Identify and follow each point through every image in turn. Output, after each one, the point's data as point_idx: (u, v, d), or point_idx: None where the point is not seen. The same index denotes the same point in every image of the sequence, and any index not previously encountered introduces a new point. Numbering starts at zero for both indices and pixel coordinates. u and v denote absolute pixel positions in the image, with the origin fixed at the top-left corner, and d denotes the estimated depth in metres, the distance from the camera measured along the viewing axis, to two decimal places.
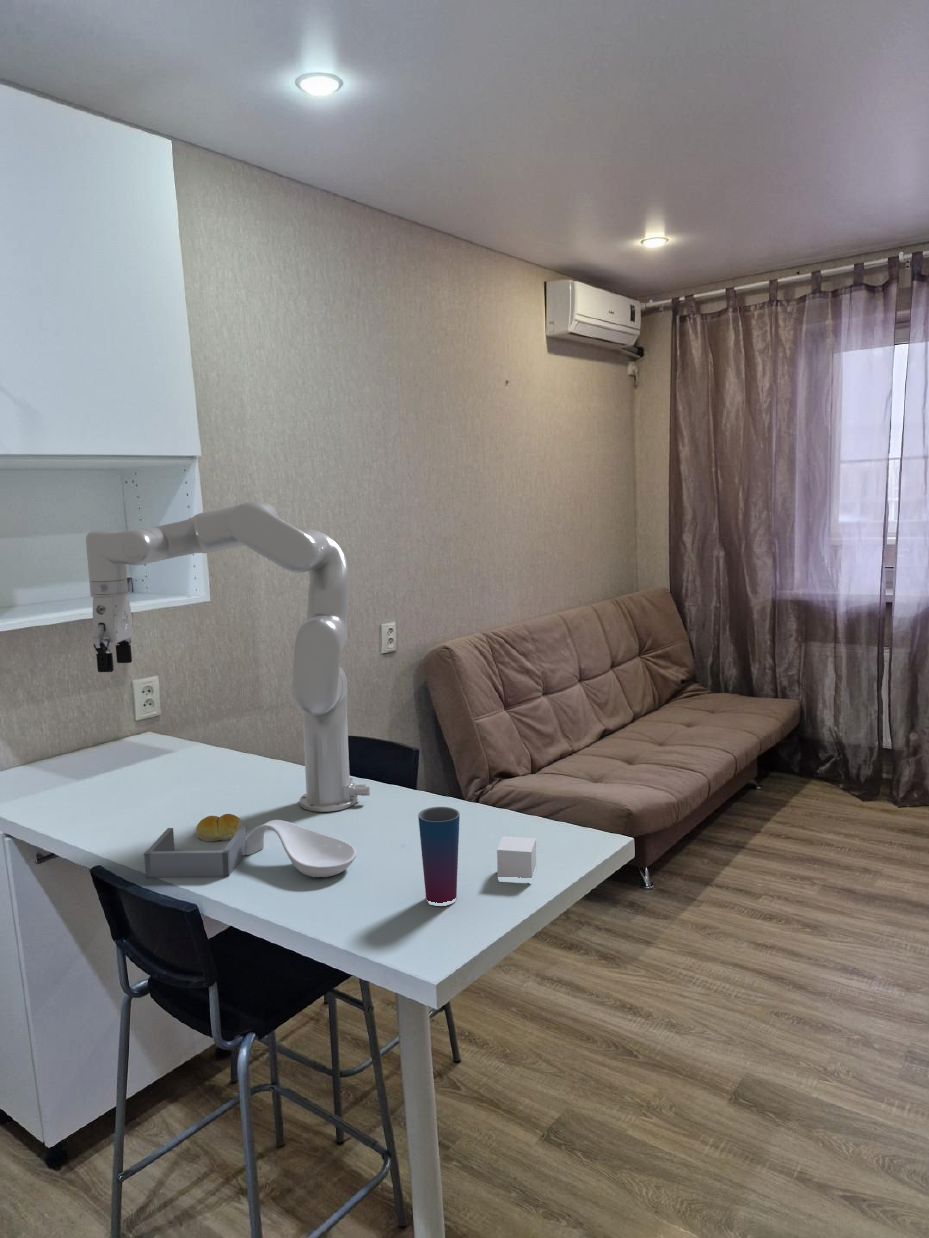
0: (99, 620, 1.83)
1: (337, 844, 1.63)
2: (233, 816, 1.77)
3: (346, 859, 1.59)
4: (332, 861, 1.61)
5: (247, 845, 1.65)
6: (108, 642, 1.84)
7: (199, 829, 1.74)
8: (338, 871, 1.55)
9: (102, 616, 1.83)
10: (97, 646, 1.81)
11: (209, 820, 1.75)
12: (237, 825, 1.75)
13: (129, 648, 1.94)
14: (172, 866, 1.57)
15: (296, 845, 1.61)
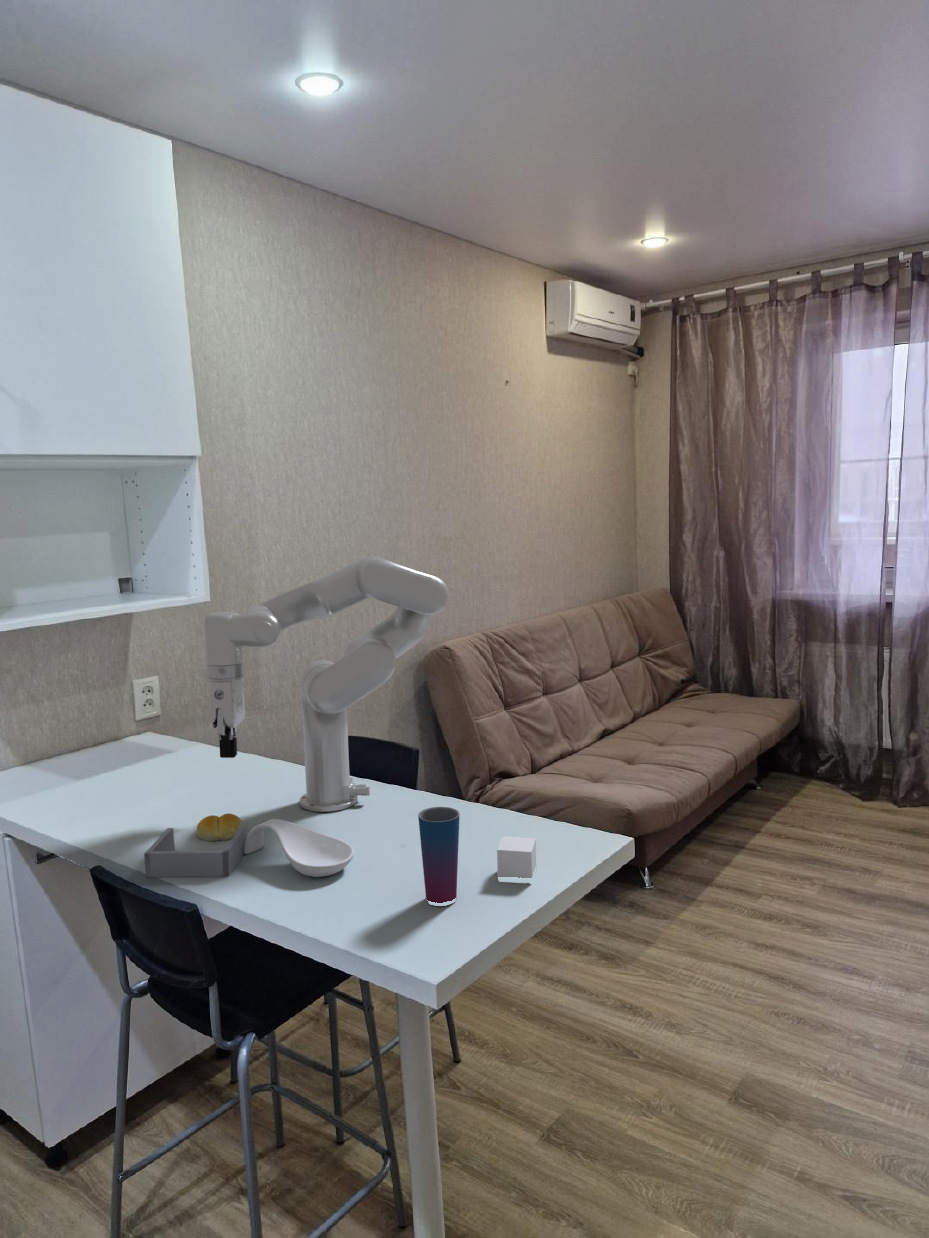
0: (217, 705, 1.79)
1: (335, 843, 1.63)
2: (233, 816, 1.77)
3: (344, 859, 1.59)
4: (330, 860, 1.61)
5: (247, 844, 1.66)
6: (229, 730, 1.82)
7: (200, 829, 1.74)
8: (335, 871, 1.55)
9: (220, 701, 1.78)
10: (223, 734, 1.82)
11: (210, 819, 1.76)
12: (237, 825, 1.76)
13: (235, 741, 1.85)
14: (172, 866, 1.57)
15: (294, 844, 1.61)
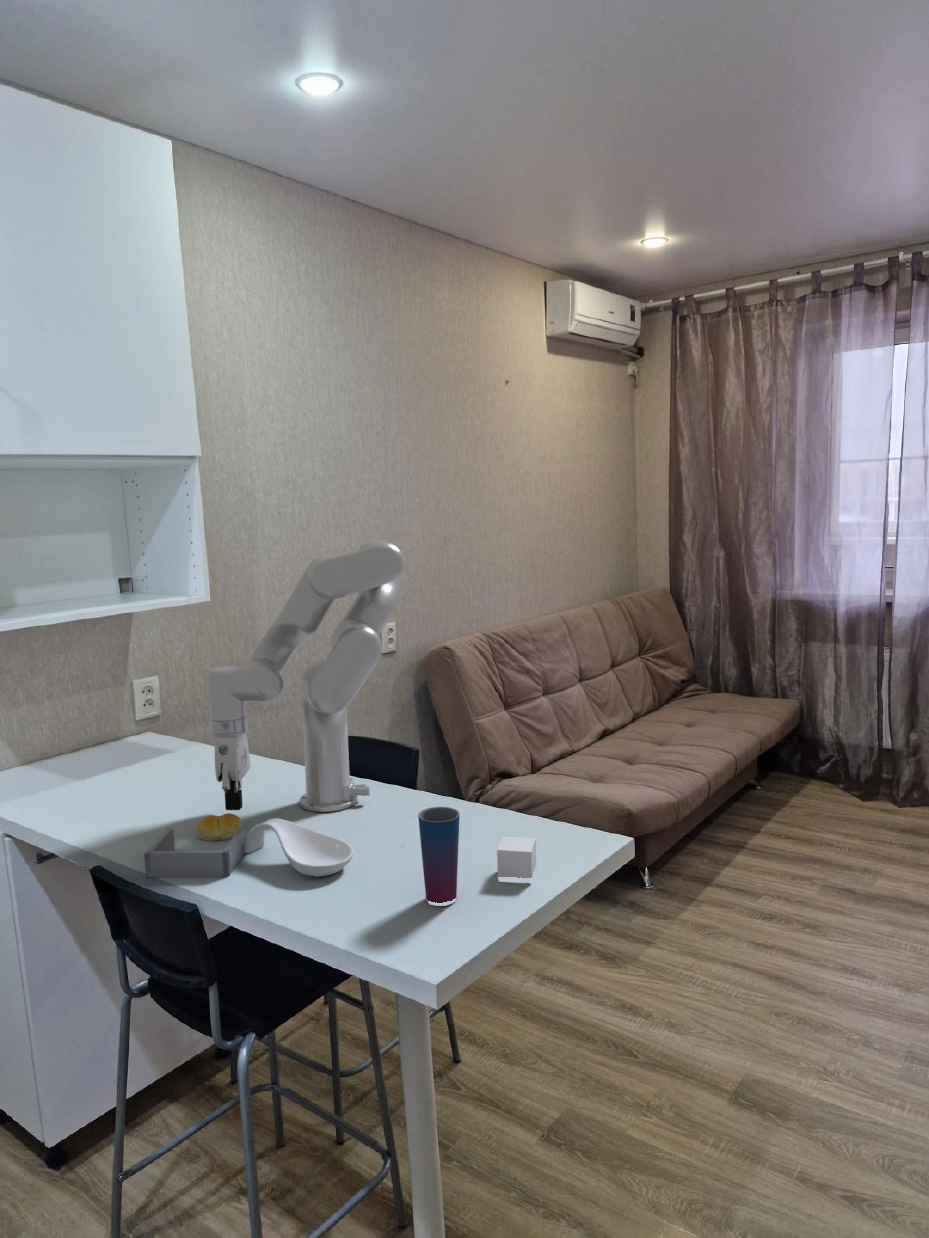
0: (221, 760, 1.80)
1: (335, 843, 1.63)
2: (234, 815, 1.77)
3: (343, 858, 1.59)
4: (329, 860, 1.61)
5: (247, 843, 1.66)
6: (234, 783, 1.84)
7: (200, 829, 1.74)
8: (334, 870, 1.55)
9: (225, 756, 1.80)
10: None
11: (210, 819, 1.76)
12: (238, 824, 1.76)
13: (240, 793, 1.87)
14: (172, 866, 1.57)
15: (294, 844, 1.62)
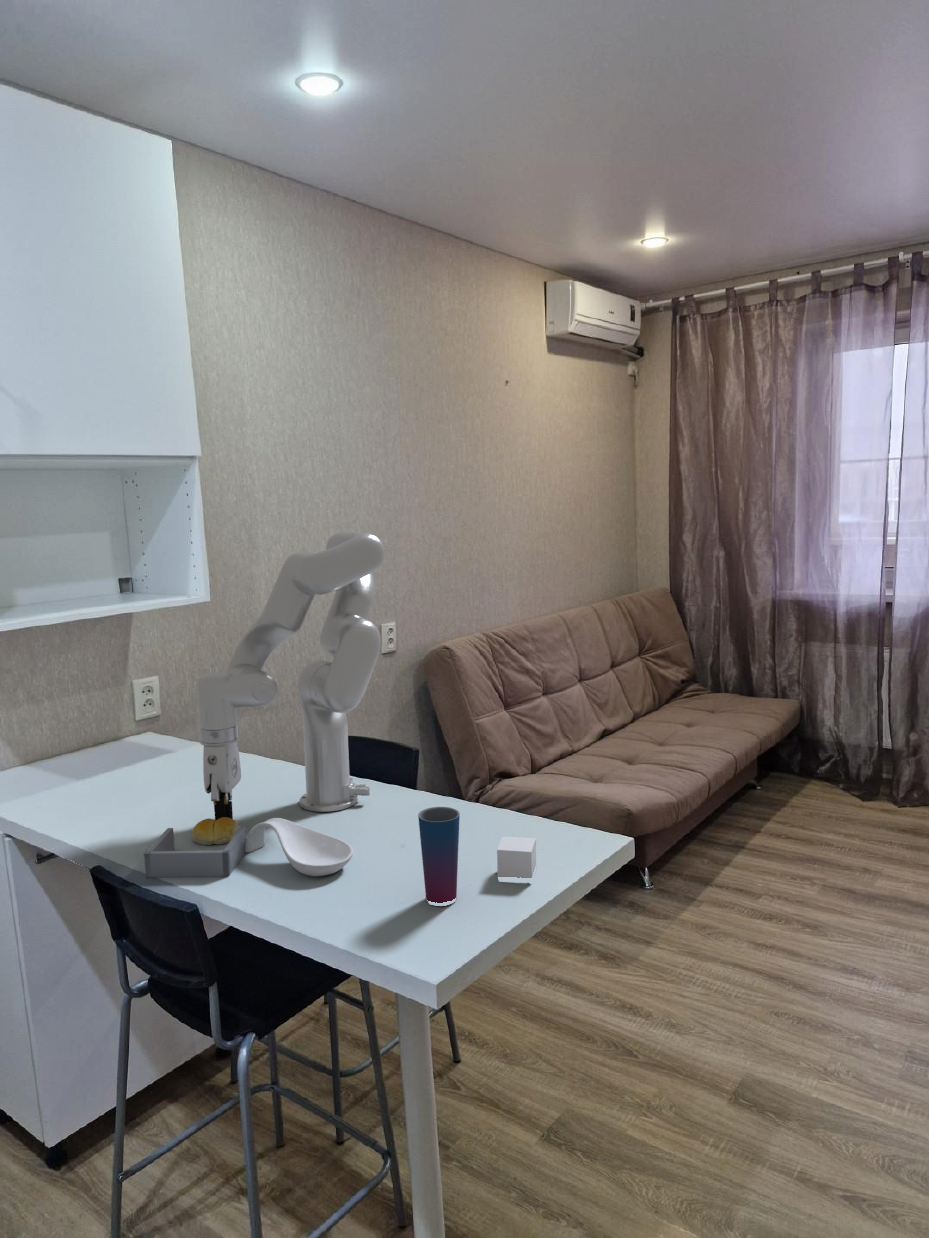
0: (210, 770, 1.73)
1: (335, 843, 1.63)
2: (229, 820, 1.75)
3: (343, 858, 1.59)
4: (329, 860, 1.61)
5: (248, 842, 1.67)
6: (224, 795, 1.77)
7: (195, 832, 1.72)
8: (334, 870, 1.55)
9: (214, 767, 1.73)
10: None
11: (206, 823, 1.73)
12: (233, 829, 1.73)
13: (230, 805, 1.80)
14: (172, 866, 1.57)
15: (294, 843, 1.62)
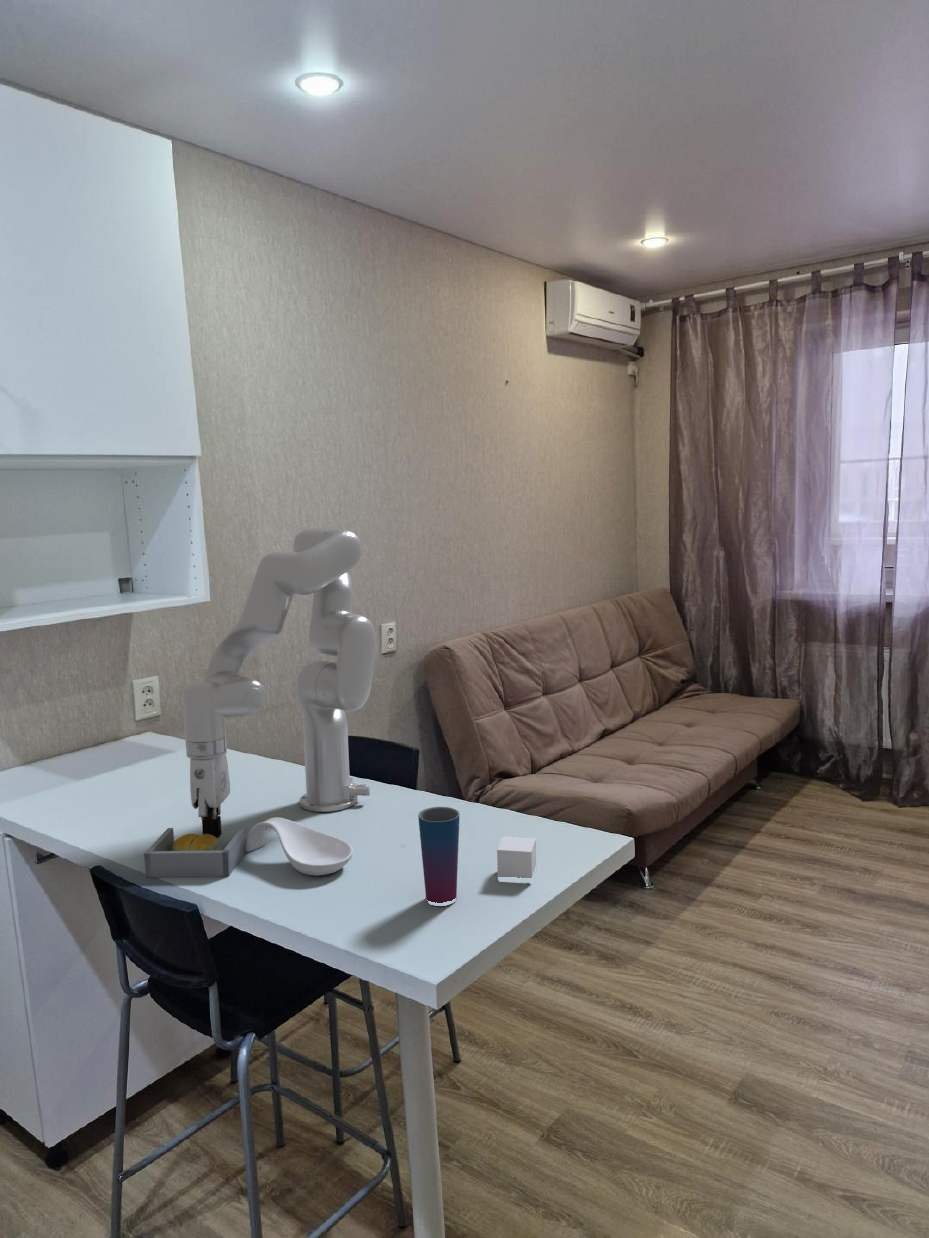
0: (197, 785, 1.65)
1: (335, 843, 1.63)
2: (209, 837, 1.66)
3: (343, 858, 1.60)
4: (329, 859, 1.61)
5: (248, 842, 1.67)
6: (212, 810, 1.69)
7: (172, 847, 1.65)
8: (334, 870, 1.55)
9: (201, 781, 1.65)
10: None
11: (185, 838, 1.66)
12: (209, 848, 1.64)
13: (219, 820, 1.72)
14: (172, 866, 1.57)
15: (294, 843, 1.62)
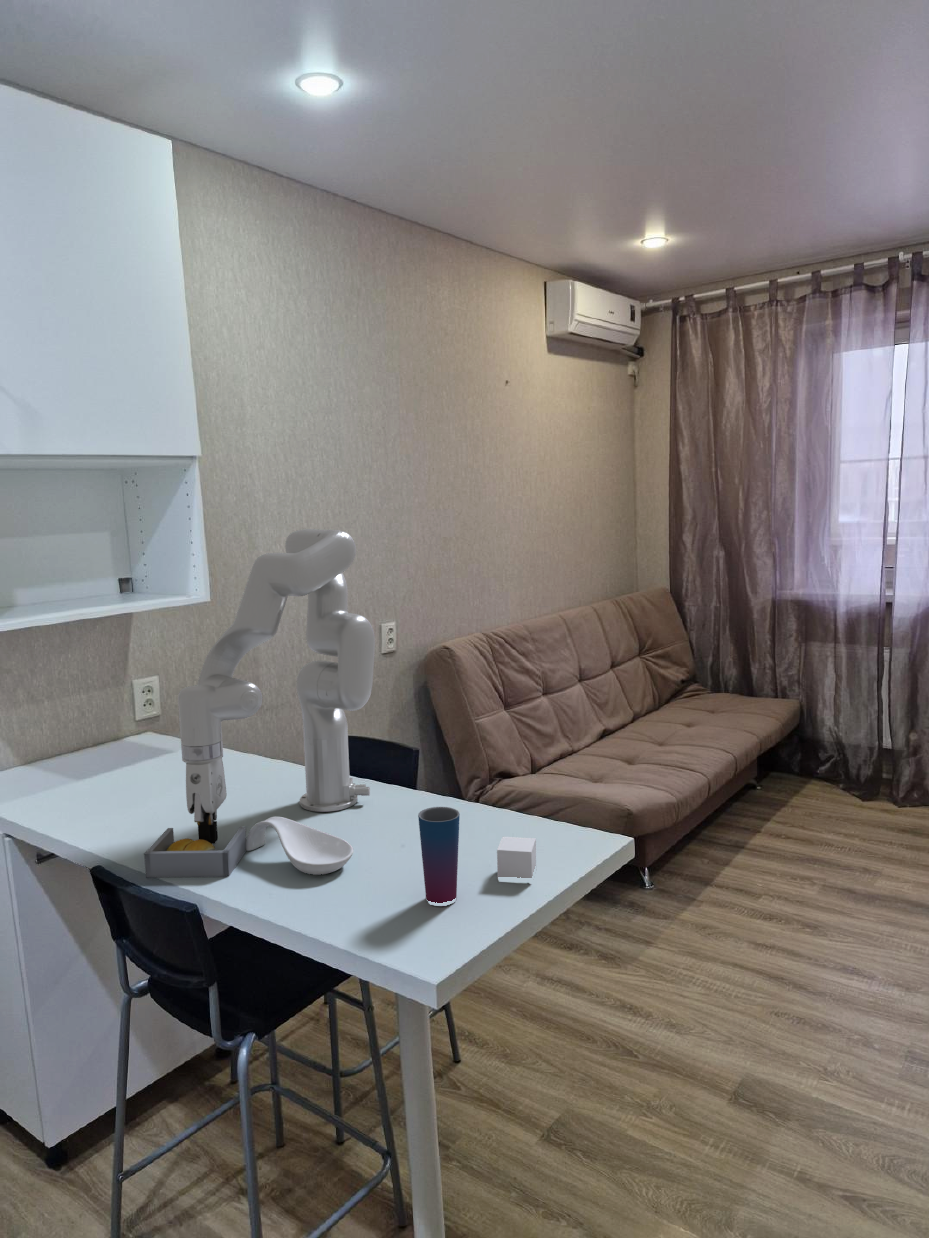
0: (193, 790, 1.63)
1: (335, 842, 1.64)
2: (202, 843, 1.63)
3: (343, 857, 1.60)
4: (329, 858, 1.61)
5: (248, 841, 1.67)
6: (208, 815, 1.66)
7: None
8: (334, 869, 1.55)
9: (197, 786, 1.62)
10: None
11: (179, 843, 1.64)
12: None
13: (215, 825, 1.69)
14: (172, 866, 1.57)
15: (295, 842, 1.62)
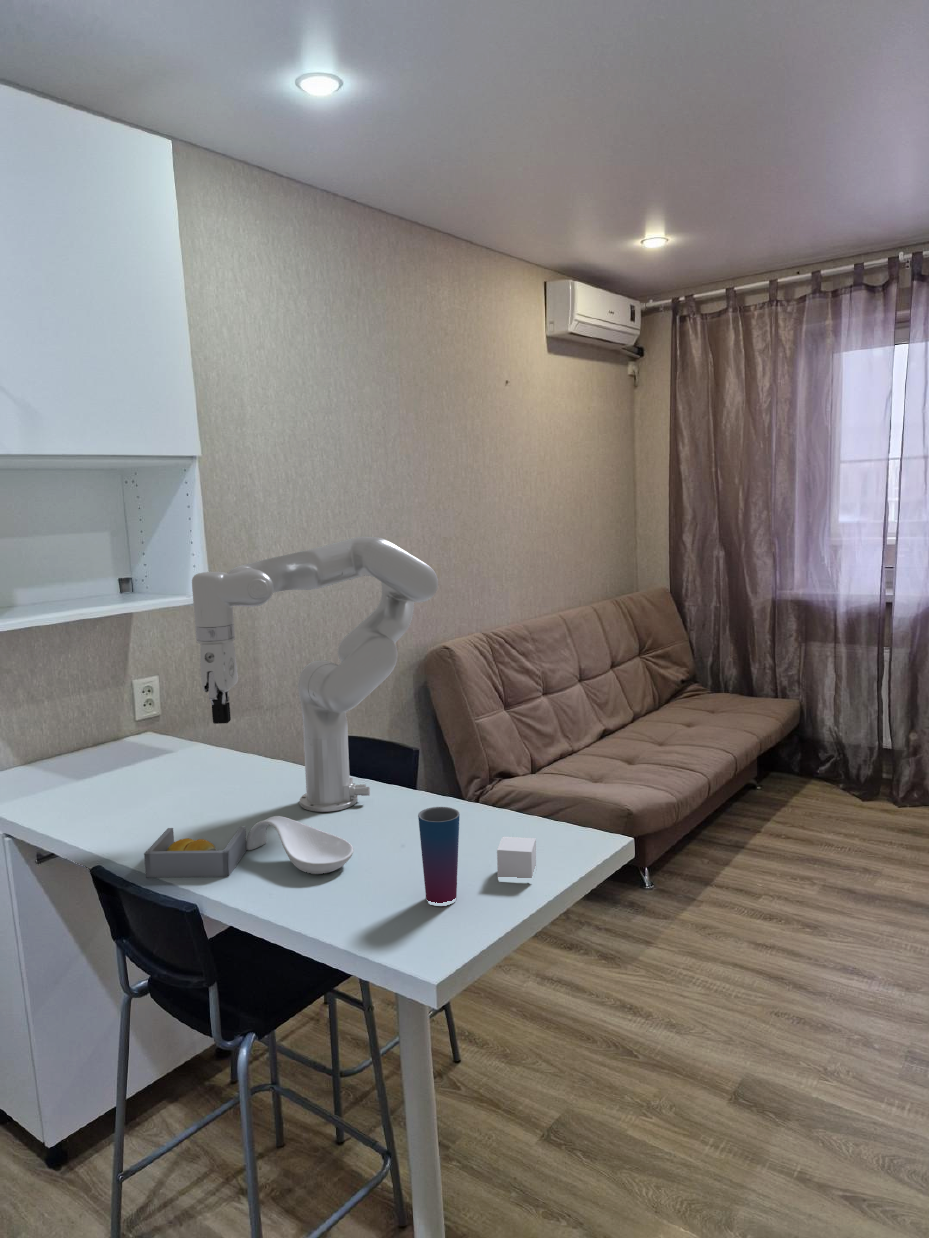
0: (207, 668, 1.72)
1: (336, 841, 1.64)
2: (203, 843, 1.63)
3: (343, 856, 1.60)
4: (330, 858, 1.62)
5: (249, 840, 1.68)
6: (222, 695, 1.76)
7: None
8: (334, 868, 1.56)
9: (211, 664, 1.72)
10: (215, 699, 1.75)
11: (179, 843, 1.64)
12: None
13: (228, 706, 1.78)
14: (172, 866, 1.57)
15: (295, 841, 1.63)
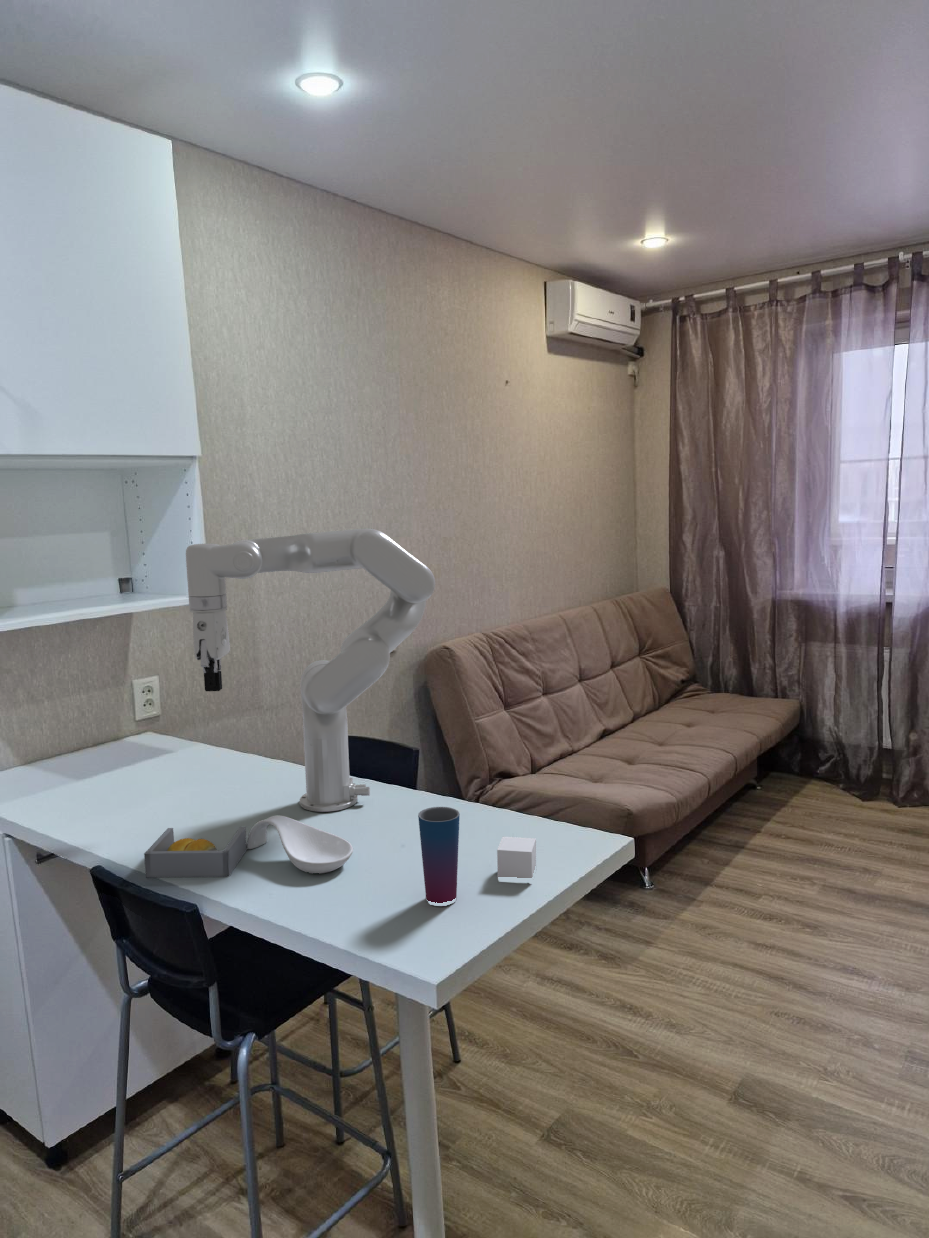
0: (200, 636, 1.77)
1: (336, 841, 1.64)
2: (203, 843, 1.64)
3: (343, 856, 1.61)
4: (329, 857, 1.62)
5: (249, 839, 1.68)
6: (214, 663, 1.81)
7: None
8: (333, 868, 1.56)
9: (203, 632, 1.77)
10: (207, 667, 1.80)
11: (179, 843, 1.64)
12: None
13: (220, 674, 1.84)
14: (172, 866, 1.57)
15: (295, 841, 1.63)
